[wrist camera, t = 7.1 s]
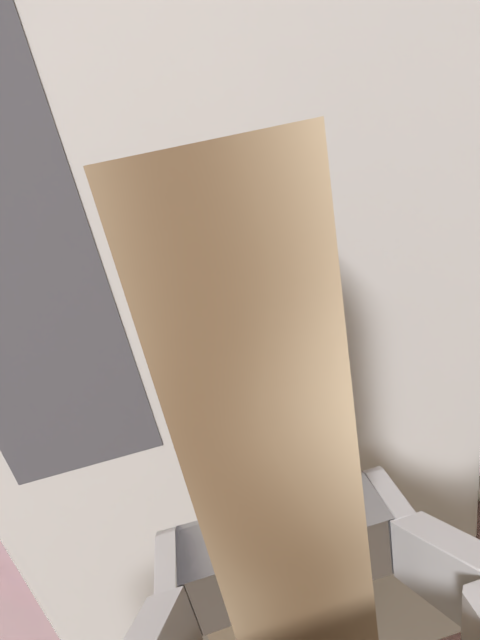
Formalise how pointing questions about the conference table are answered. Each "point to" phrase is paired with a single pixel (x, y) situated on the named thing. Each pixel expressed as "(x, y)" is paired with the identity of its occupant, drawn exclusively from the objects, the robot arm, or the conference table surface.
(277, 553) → the long tan strip
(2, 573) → the conference table surface
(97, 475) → the mat
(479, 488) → the packaged product
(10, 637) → the conference table surface
